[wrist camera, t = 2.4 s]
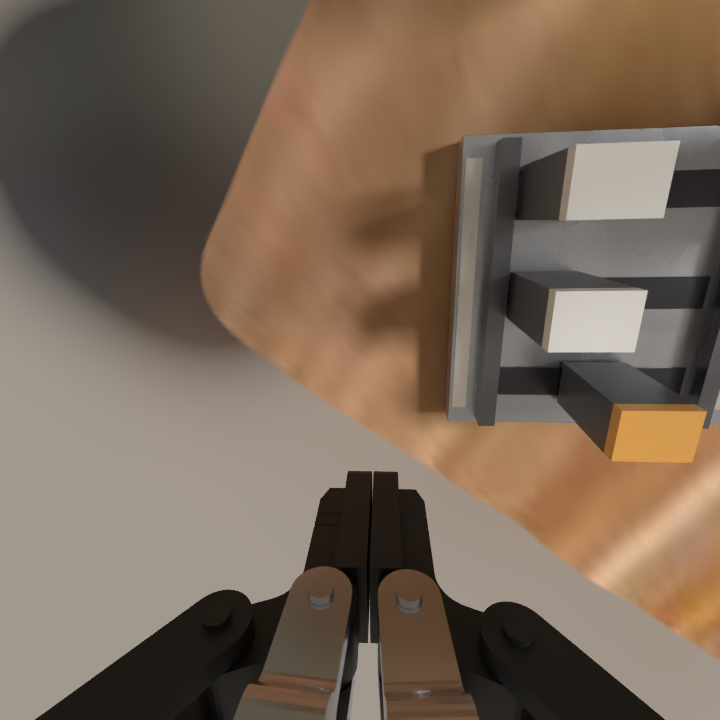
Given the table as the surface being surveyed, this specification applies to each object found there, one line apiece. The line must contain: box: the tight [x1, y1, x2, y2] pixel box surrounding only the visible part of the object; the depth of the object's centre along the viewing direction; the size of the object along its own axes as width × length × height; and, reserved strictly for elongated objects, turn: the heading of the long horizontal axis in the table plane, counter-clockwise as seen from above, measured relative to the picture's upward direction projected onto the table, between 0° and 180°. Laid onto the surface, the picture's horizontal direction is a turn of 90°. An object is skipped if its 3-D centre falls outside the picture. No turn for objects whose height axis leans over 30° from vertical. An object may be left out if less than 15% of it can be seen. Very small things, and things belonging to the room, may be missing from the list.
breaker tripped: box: [557, 362, 707, 463], centre depth 18 cm, size 3×2×5 cm
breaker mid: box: [506, 271, 648, 352], centre depth 16 cm, size 3×2×5 cm
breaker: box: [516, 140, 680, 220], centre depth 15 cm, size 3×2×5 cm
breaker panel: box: [445, 125, 720, 428], centre depth 19 cm, size 19×14×2 cm
